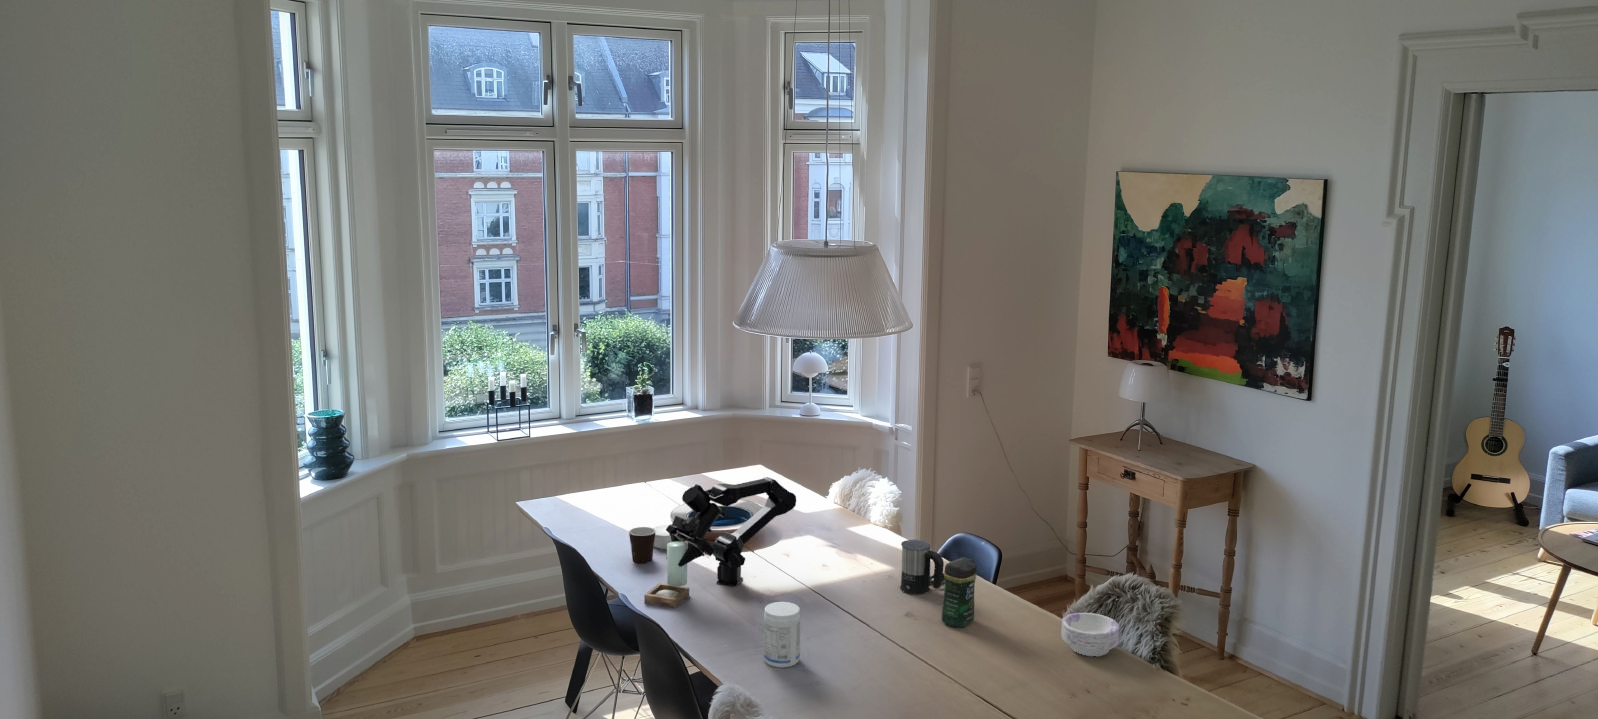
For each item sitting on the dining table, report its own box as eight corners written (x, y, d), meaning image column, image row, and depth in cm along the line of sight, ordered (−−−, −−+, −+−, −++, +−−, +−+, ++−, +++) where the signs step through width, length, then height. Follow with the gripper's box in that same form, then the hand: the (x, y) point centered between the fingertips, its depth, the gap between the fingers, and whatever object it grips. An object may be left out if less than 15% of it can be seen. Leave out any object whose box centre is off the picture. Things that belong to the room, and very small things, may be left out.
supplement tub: (781, 649, 292) (782, 598, 290) (807, 660, 286) (808, 608, 284) (755, 660, 285) (756, 608, 283) (781, 672, 279) (782, 618, 277)
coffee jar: (960, 631, 306) (963, 568, 303) (937, 623, 311) (940, 561, 308) (978, 620, 314) (981, 559, 310) (955, 613, 319) (958, 553, 315)
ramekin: (689, 543, 373) (689, 528, 372) (669, 552, 364) (669, 537, 363) (664, 537, 379) (664, 522, 378) (643, 546, 370) (643, 531, 369)
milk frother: (896, 592, 333) (898, 546, 331) (907, 575, 348) (909, 531, 345) (942, 599, 329) (944, 552, 326) (951, 581, 344) (953, 536, 341)
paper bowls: (1064, 634, 306) (1066, 607, 304) (1120, 643, 300) (1122, 616, 299) (1056, 655, 292) (1058, 628, 290) (1114, 666, 286) (1116, 638, 285)
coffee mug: (650, 566, 351) (650, 536, 350) (625, 563, 353) (625, 534, 351) (662, 553, 362) (662, 525, 361) (637, 551, 364) (637, 523, 362)
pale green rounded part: (687, 579, 329) (687, 541, 327) (686, 586, 323) (686, 548, 321) (668, 578, 329) (667, 541, 327) (666, 586, 323) (666, 548, 321)
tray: (689, 595, 328) (689, 587, 327) (674, 607, 318) (674, 599, 318) (659, 590, 331) (659, 582, 330) (644, 603, 322) (644, 594, 321)
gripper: (671, 498, 332) (640, 540, 327) (706, 513, 318) (674, 557, 313) (692, 518, 338) (662, 559, 333) (727, 534, 324) (697, 577, 319)
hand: (673, 562), depth 324 cm, fingers closed on pale green rounded part, 6 cm apart
